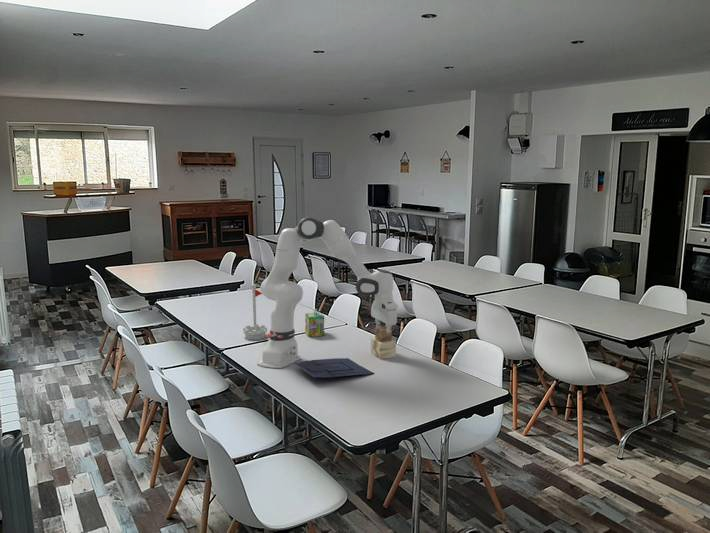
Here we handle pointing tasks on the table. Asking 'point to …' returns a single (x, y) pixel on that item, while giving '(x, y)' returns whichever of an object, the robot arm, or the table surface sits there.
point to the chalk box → (314, 324)
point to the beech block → (383, 348)
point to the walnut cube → (383, 334)
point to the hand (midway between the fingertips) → (383, 329)
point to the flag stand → (255, 330)
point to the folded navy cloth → (332, 367)
